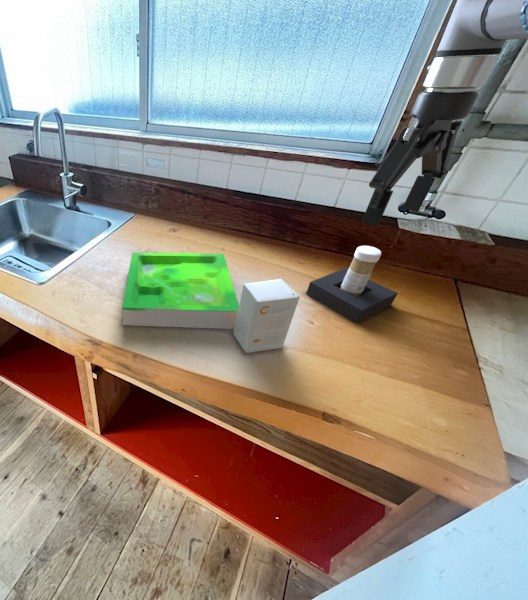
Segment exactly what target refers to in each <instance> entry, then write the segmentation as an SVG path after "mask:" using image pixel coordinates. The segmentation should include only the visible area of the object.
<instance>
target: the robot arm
mask: <svg viewBox="0 0 528 600" xmlns="http://www.w3.org/2000/svg"><path fill="white" fill-rule="evenodd" d="M511 40H528V0H456V2H455V6H454V7H453V10H452V13H451V15H450V17H449V20H448V23H447V25H446V28H445V30H444V31H443V35H442V37H441V40H440V42H439V46H437V50H436V52H435V55H434V58H433V60H432V62H431V64H430V65H429V66H428V67H427V68H426V71H427V74H426V77H425V79H424V81H423V83H422V87H423V88H425V90H423V91H420V93H418V94H417V97H416V99H415V101H414V104H413V106H412V108H411V111H410V116H411V117H412V118H415V119H417V122H416V123H415V125H414V126H413V127H412V126H404V127H403V128H402V129H401V131H400V133H399V135H398V138H397V139H396V141H395V143H394V144H393V146H392V147H391V149H390V151H389V152H388V154H387V155H386V157H385V158H384V160H383V161H382V163H381V164H380V166H379V167H378V170H377V171H376V172H375V173H374V175H373V177H372V178H371V180H370V181H369V183H368V187H369V188H371V189H374V190H373V192H372V195H371V197H370V200H369V202H368V205H367V206H366V207H367V208H366V210H365V212H364V214H363V217H362V219H361V222H362V223H365V224H366V225H367V224H368V225H371V226H374V227H378V226H379V224H380V222H381V220H382V217H383V215H384V213H385V211H386V209H387V207H388V204H389V202H390V200H391V197H392V195H393V193H394V190H392V189H393V188H394V187H395V185H396V184H397V183H398V182H399V180H400V179H401V178H402V177H403V176H404V175H405V173H406V172H407V171H408V170H409V168H410V167H411V166H412V165H413V163H415V162H416V160H418V159H420V158H421V175H417V176H416V179H415V180H414V183H413V185H412V187H411V189H410V191H409V193H408V194H407V197H406V199H405V201H404V203H403V205H402V209H405V210H408V211H411V212H415V213H418V212H419V211H420V209H421V207H423V206H422V205H423V204H424V201H425V199H426V198H427V196H428V194H429V192H430V190H431V188H432V186H433V184H434V182H435V180H436V179H443V177H444V176H445V174H446V173H445V172H446V171H447V169H448V165H449V163H450V158H451V155H452V152H453V148H454V145H455V141H456V139H457V134H458V132H459V131H460V128H461V126H462V124H463V119H465V118H467V117H468V116H469V115H470V112H471V111H472V110H473V109H472V108H473V107H474V105H475V103H476V101H477V100H478V98H479V96H480V95H479V92H478V91H477V89H479V88H482V87H484V86H485V84H486V83H487V80H488V78H489V77H490V74H491V73H492V71H493V69H494V66H495V65H496V63H497V61H498V59H499V57H500V54H501V52H502V51H503V48H504V46H505V44H506V42H507V41H511Z"/></svg>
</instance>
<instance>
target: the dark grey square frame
mask: <svg viewBox="0 0 528 600" xmlns="http://www.w3.org/2000/svg"><path fill="white" fill-rule="evenodd" d="M348 269H349V268H346V267H344V268H342V269H339V270H337V271H334V272H332V273H329V274H327V275H323V276H322V277H318V278H317V279H314V280H312V281H310V282H309V284H308V287H307V289H306V293H305V295H307V296H309V297H311V298H312V299H314V300H316V301H318V302H319V303H320V304H323V305H325V306H326V307H328V308H330V309H331V310H332V311H335V312H337V313H338V314H340V315H342V316H344V317H345V318H347V319H349V320H350V321H352V322H354V323H355V324H356V323H359V322H361V321H362V320H364V319H367V318H369V317H370V316H372V315H375V314H376V313H378V312H380V311H382V310H384V309H387V308H388V307H391V306H392V305H393V303H394V302H395V300H396V298H397V296H398V294H399V293H398V292H397V291H395V290H392V289H390V288H388V287H386V286H384V285H382V284H379V283H377V282H375V281H373V280H371V279H369V280H368V282H367V284H366V286H365V288H364V290H363V292H362V293H361V295H360V296H359V297H355V296H353V295H351V294H349V293H347V292H345V291H344V290H342V289H340V288H341V285H342V283H343V280H344V278H345V276H346V274H347V271H348Z"/></svg>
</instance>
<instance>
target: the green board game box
mask: <svg viewBox="0 0 528 600" xmlns="http://www.w3.org/2000/svg"><path fill="white" fill-rule="evenodd" d="M127 274H128V275H127V278H126V279H127V280H126V284H125V291H124V296H123V302H122V307H121V308H122V309H121V311H122V325H123V326H137V327H139V326H141V327H165V328H167V327H168V328H194V329H195V328H197V329H220V330H221V329H225V330H226V329H227V330H234V328H235V323H236V317H237V313H238V308H239V301H238V298H237V295H236V291H235V288H234V284H233V280H232V277H231V274H230V270H229V267H228V263H227V259H226V256H225V253H203V252H202V253H194V252H192V253H191V252H131V258H130V262H129V267H128V273H127Z"/></svg>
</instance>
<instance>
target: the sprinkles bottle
mask: <svg viewBox="0 0 528 600" xmlns="http://www.w3.org/2000/svg"><path fill="white" fill-rule="evenodd" d="M354 251H355V252H354V253H353V254H354V255H353V259H352V261H351V263H350V265H349V266H348V267H349V268H347V269H348V271H347V274H346V276H345V278H344V280H343V283H342V285H341V288H340V289H342V290H344V291H345V292H347V293H349V294H351V295H353V296H355V297H359V296H360V295H361V293H362V292H363V290H364V288H365V286H366V284H367V282H368V280H370V277H371V276H372V273H373V270H374V268H375V266H376V264H377V263H378V261H380V258H381V256H382V250H380V249H379V248H377V247H375V246H371V245H360V246H358V247H356V250H354Z"/></svg>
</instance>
